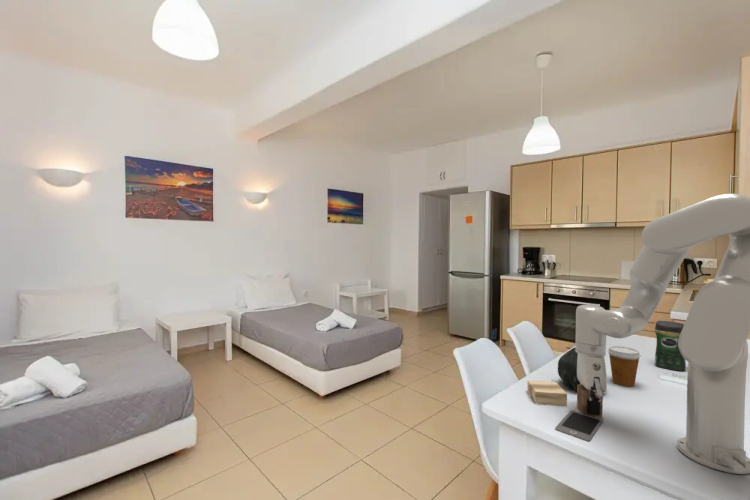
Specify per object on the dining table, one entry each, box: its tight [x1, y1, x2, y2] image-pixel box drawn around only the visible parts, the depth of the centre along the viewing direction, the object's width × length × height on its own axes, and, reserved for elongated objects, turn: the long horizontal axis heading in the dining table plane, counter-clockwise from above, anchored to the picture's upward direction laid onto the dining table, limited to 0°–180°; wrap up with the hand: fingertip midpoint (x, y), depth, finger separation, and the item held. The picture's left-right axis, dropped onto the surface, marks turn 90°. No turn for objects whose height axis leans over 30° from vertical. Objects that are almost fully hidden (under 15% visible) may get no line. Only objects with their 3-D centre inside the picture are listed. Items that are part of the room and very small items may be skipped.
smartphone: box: [554, 409, 604, 443], centre depth 93 cm, size 15×8×1 cm, turn 135°
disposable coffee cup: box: [607, 345, 641, 388], centre depth 122 cm, size 10×10×12 cm
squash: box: [557, 347, 607, 391], centre depth 118 cm, size 14×15×15 cm
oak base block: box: [526, 380, 568, 407], centre depth 110 cm, size 9×9×4 cm
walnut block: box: [576, 385, 604, 419], centre depth 101 cm, size 5×5×7 cm
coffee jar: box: [654, 320, 687, 372], centre depth 139 cm, size 10×8×19 cm
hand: (589, 409), depth 101 cm, fingers closed on walnut block, 5 cm apart
